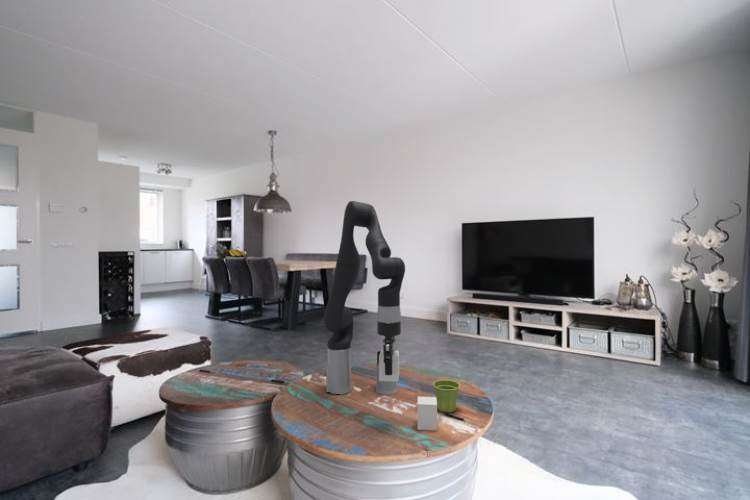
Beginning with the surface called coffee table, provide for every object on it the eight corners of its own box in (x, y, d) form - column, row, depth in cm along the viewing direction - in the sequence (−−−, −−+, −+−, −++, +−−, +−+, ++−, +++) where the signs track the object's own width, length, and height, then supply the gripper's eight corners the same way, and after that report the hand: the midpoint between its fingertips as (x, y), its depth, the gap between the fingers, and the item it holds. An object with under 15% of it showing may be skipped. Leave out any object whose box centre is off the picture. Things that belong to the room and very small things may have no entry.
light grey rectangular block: (417, 429, 117) (417, 404, 117) (417, 420, 123) (417, 396, 122) (437, 430, 116) (437, 404, 116) (436, 421, 122) (436, 397, 122)
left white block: (379, 380, 118) (379, 355, 118) (381, 374, 124) (380, 350, 124) (398, 381, 117) (398, 356, 117) (399, 375, 123) (399, 350, 123)
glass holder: (373, 393, 146) (373, 355, 146) (381, 380, 160) (381, 345, 160) (395, 395, 144) (395, 356, 144) (401, 382, 158) (401, 346, 158)
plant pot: (444, 417, 125) (444, 391, 125) (427, 406, 133) (427, 382, 133) (465, 411, 129) (465, 386, 129) (448, 401, 138) (448, 378, 138)
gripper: (379, 315, 128) (380, 364, 128) (374, 323, 114) (375, 378, 114) (401, 315, 127) (402, 364, 127) (399, 324, 113) (400, 379, 113)
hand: (389, 371), depth 121 cm, fingers closed on left white block, 6 cm apart
